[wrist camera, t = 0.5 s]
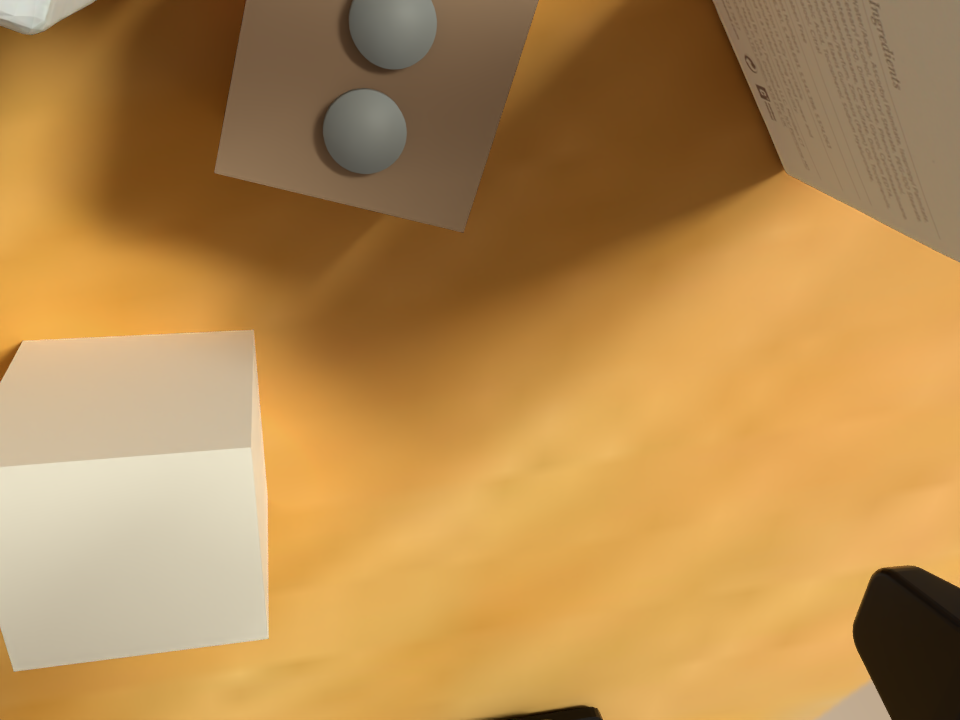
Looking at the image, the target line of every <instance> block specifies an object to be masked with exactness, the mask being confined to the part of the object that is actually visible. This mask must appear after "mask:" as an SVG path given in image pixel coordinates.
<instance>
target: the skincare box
mask: <svg viewBox="0 0 960 720" xmlns="http://www.w3.org/2000/svg"><path fill="white" fill-rule="evenodd" d="M94 1H96V0H0V26H2V27H5V28H8V29H11V30H13V31H16V32H19V33H22V34H28V35H33V34H37V33H40V32H43V31H45V30H47V29H48V28H50V27H51V26H53V25H54V24H56V23H57V22H59V21H61V20H63V19H64V18H66V17H68V16H70V15H71V14H73V13H75V12H77V11H78V10H80V9H82V8H84V7H86V6H88V5H90V4H92V3H93V2H94Z"/></svg>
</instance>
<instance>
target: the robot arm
mask: <svg viewBox="0 0 960 720" xmlns="http://www.w3.org/2000/svg"><path fill="white" fill-rule="evenodd" d="M853 639H854V642H855V646H856V648H857V651H858V653H859V655H860V657H861V659H862V661H863V663H864V665H865V667H866V669H867V671H868V673H869V675H870V677H871V679H872V681H873V683H874V685H875V687H876V689H877V691H878V693H879V695H880V697H881V699H882V701H883V703H884V705H885V707H886V709H887V711H888V713H889V715H890V717H891V719H892V720H960V588H959V587H957V586H955V585H953V584H951V583H949V582H947V581H945V580H943V579H941V578H939V577H937V576H935V575H933V574H931V573H929V572H927V571H925V570H923V569H921V568H919V567H916V566H908V565H907V566H897V567H887V568H881V569H878V570H877V571H876V572H875V573H874V574H873V575H872V577H871V579H870V581H869V583H868V586H867V589H866V591H865V594H864V596H863V599H862V602H861V604H860V607H859V610H858V612H857V615H856V617H855V620H854V623H853ZM512 720H603V719H602V716H601V714H600V712H599V710H598V709H597V708H594V707H586V708H580V709H574V710H568V711H562V712H555V713H549V714H543V715H537V716H530V717H524V718H518V719H512Z"/></svg>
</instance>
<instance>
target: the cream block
mask: <svg viewBox="0 0 960 720" xmlns="http://www.w3.org/2000/svg"><path fill="white" fill-rule="evenodd" d="M0 628H1V631H2V634H3V638H4V641H5V644H6V647H7V651H8V654H9V657H10V660H11V664H12V667H13V670H14V671H22V670H30V669H38V668H45V667H53V666H61V665H69V664H76V663H84V662H92V661H100V660H107V659H115V658H123V657H131V656H138V655H146V654H154V653H162V652H169V651H177V650H185V649H193V648H200V647H208V646H216V645H224V644H231V643H239V642H247V641H255V640H262V639H269V631H268V496H267V484H266V471H265V459H264V447H263V435H262V423H261V411H260V399H259V387H258V375H257V362H256V350H255V338H254V330H238V331H217V332H196V333H175V334H154V335H133V336H112V337H91V338H71V339H50V340H29V341H23V342H22V343H21V345H20V347H19V349H18V351H17V353H16V355H15V356H14V358H13V360H12V362H11V364H10V366H9V367H8V369H7V371H6V373H5V375H4V377H3V379H2V380H1V382H0Z"/></svg>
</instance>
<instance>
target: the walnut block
mask: <svg viewBox="0 0 960 720" xmlns="http://www.w3.org/2000/svg"><path fill="white" fill-rule="evenodd" d="M538 1H539V0H246V2H245V8H244V13H243V18H242V24H241V29H240V35H239V40H238V45H237V51H236V56H235V61H234V67H233V72H232V78H231V83H230V88H229V94H228V99H227V105H226V110H225V115H224V121H223V126H222V132H221V138H220V143H219V149H218V154H217V160H216V166H215V171H214V173H216V174H220V175H224V176H229V177H233V178H237V179H241V180H245V181H249V182H254V183H258V184H262V185H266V186H270V187H274V188H279V189H283V190H287V191H291V192H295V193H300V194H304V195H308V196H312V197H316V198H320V199H325V200H329V201H333V202H337V203H341V204H345V205H350V206H354V207H358V208H362V209H366V210H371V211H375V212H379V213H383V214H387V215H391V216H396V217H400V218H404V219H408V220H412V221H417V222H421V223H425V224H429V225H433V226H437V227H442V228H446V229H450V230H454V231H458V232H462V233H464V230H465V226H466V223H467V220H468V217H469V214H470V211H471V208H472V205H473V202H474V199H475V196H476V192H477V189H478V186H479V183H480V180H481V177H482V174H483V171H484V168H485V165H486V162H487V158H488V155H489V152H490V149H491V146H492V143H493V140H494V137H495V134H496V131H497V128H498V124H499V121H500V118H501V115H502V112H503V109H504V106H505V103H506V100H507V97H508V94H509V90H510V87H511V84H512V81H513V78H514V75H515V72H516V69H517V66H518V63H519V60H520V56H521V53H522V50H523V47H524V44H525V41H526V38H527V35H528V32H529V29H530V26H531V22H532V19H533V16H534V13H535V10H536V7H537V4H538Z"/></svg>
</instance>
